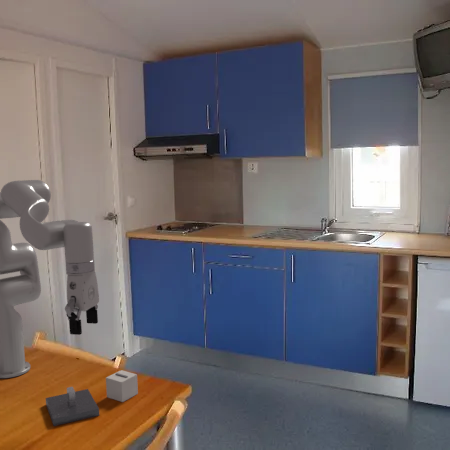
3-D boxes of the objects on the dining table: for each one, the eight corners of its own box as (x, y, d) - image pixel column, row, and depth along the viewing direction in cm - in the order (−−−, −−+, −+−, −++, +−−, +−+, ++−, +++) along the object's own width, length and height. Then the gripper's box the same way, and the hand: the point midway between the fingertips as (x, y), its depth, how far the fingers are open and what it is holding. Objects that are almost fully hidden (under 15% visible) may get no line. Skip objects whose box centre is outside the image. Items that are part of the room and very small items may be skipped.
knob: (106, 397, 154) (105, 376, 153) (122, 388, 159) (121, 369, 158) (122, 402, 150) (121, 381, 149) (137, 393, 156) (137, 373, 155)
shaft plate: (46, 404, 150) (44, 384, 149) (88, 395, 155) (87, 376, 154) (53, 426, 137) (52, 404, 137) (99, 415, 143) (98, 394, 142)
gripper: (77, 274, 133) (82, 339, 135) (106, 261, 150) (110, 319, 152) (51, 274, 134) (55, 338, 136) (82, 261, 151) (86, 319, 153)
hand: (84, 328), depth 144 cm, fingers open, 9 cm apart
